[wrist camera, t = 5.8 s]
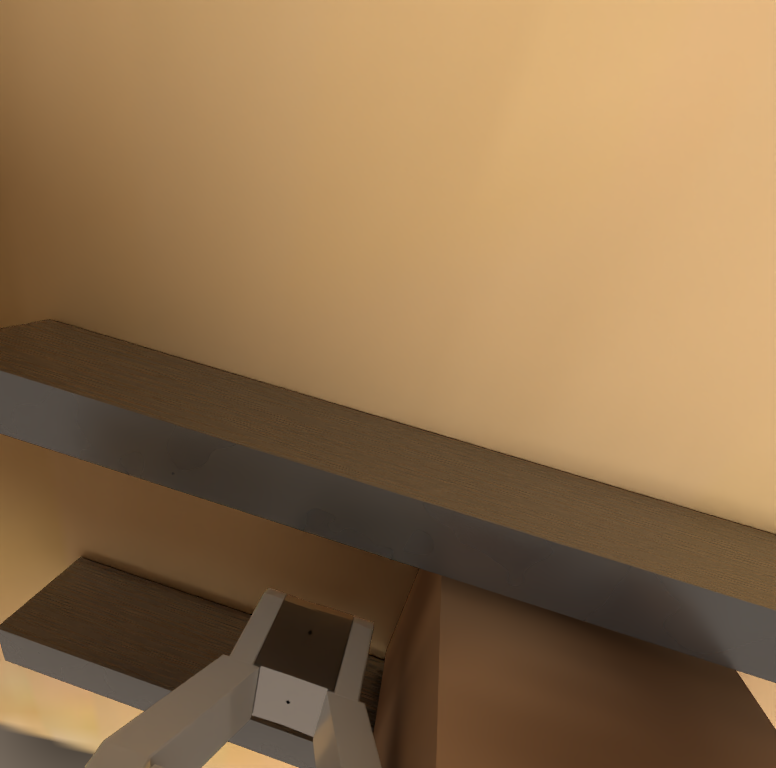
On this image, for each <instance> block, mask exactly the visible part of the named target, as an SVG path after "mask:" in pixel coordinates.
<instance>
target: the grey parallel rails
mask: <svg viewBox="0 0 776 768" xmlns="http://www.w3.org/2000/svg"><path fill="white" fill-rule="evenodd" d="M0 434H4V435H7V436H10V437H13V438H16V439H19V440H22V441H25V442H28V443H32V444H35V445H38V446H41V447H44V448H47V449H50V450H53V451H56V452H59V453H63V454H66V455H69V456H72V457H75V458H78V459H81V460H84V461H87V462H91V463H94V464H97V465H100V466H103V467H106V468H109V469H112V470H115V471H119V472H122V473H125V474H128V475H131V476H134V477H137V478H140V479H143V480H147V481H150V482H153V483H156V484H159V485H162V486H165V487H168V488H171V489H174V490H178V491H181V492H184V493H187V494H190V495H193V496H196V497H199V498H202V499H206V500H209V501H212V502H215V503H218V504H221V505H224V506H227V507H230V508H234V509H237V510H240V511H243V512H246V513H249V514H252V515H255V516H258V517H262V518H265V519H268V520H271V521H274V522H277V523H280V524H283V525H286V526H290V527H293V528H296V529H299V530H302V531H305V532H308V533H311V534H314V535H317V536H321V537H324V538H327V539H330V540H333V541H336V542H339V543H342V544H345V545H349V546H352V547H355V548H358V549H361V550H364V551H367V552H370V553H373V554H377V555H380V556H383V557H386V558H389V559H392V560H395V561H398V562H401V563H405V564H408V565H411V566H414V567H417V568H420V569H423V570H426V571H429V572H433V573H436V574H439V575H442V576H445V577H448V578H451V579H454V580H457V581H460V582H464V583H467V584H470V585H473V586H476V587H479V588H482V589H485V590H488V591H492V592H495V593H498V594H501V595H504V596H507V597H510V598H513V599H516V600H520V601H523V602H526V603H529V604H532V605H535V606H538V607H541V608H544V609H548V610H551V611H554V612H557V613H560V614H563V615H566V616H569V617H572V618H576V619H579V620H582V621H585V622H588V623H591V624H594V625H597V626H600V627H603V628H607V629H610V630H613V631H616V632H619V633H622V634H625V635H628V636H631V637H635V638H638V639H641V640H644V641H647V642H650V643H653V644H656V645H659V646H663V647H666V648H669V649H672V650H675V651H678V652H681V653H684V654H687V655H691V656H694V657H697V658H700V659H703V660H706V661H709V662H712V663H715V664H718V665H722V666H725V667H728V668H731V669H734V670H737V671H740V672H743V673H746V674H750V675H753V676H756V677H759V678H762V679H765V680H768V681H771V682H774V683H776V535H774V534H771V533H768V532H764V531H761V530H758V529H754V528H751V527H748V526H744V525H741V524H737V523H734V522H731V521H727V520H724V519H721V518H717V517H714V516H710V515H707V514H704V513H700V512H697V511H694V510H690V509H687V508H684V507H680V506H677V505H673V504H670V503H667V502H663V501H660V500H657V499H653V498H650V497H646V496H643V495H640V494H636V493H633V492H630V491H626V490H623V489H620V488H616V487H613V486H609V485H606V484H603V483H599V482H596V481H593V480H589V479H586V478H582V477H579V476H576V475H572V474H569V473H566V472H562V471H559V470H555V469H552V468H549V467H545V466H542V465H539V464H535V463H532V462H529V461H525V460H522V459H518V458H515V457H512V456H508V455H505V454H502V453H498V452H495V451H491V450H488V449H485V448H481V447H478V446H475V445H471V444H468V443H465V442H461V441H458V440H454V439H451V438H448V437H444V436H441V435H438V434H434V433H431V432H427V431H424V430H421V429H417V428H414V427H411V426H407V425H404V424H400V423H397V422H394V421H390V420H387V419H384V418H380V417H377V416H374V415H370V414H367V413H363V412H360V411H357V410H353V409H350V408H347V407H343V406H340V405H336V404H333V403H330V402H326V401H323V400H320V399H316V398H313V397H310V396H306V395H303V394H299V393H296V392H293V391H289V390H286V389H283V388H279V387H276V386H272V385H269V384H266V383H262V382H259V381H256V380H252V379H249V378H245V377H242V376H239V375H235V374H232V373H229V372H225V371H222V370H219V369H215V368H212V367H208V366H205V365H202V364H198V363H195V362H192V361H188V360H185V359H181V358H178V357H175V356H171V355H168V354H165V353H161V352H158V351H155V350H151V349H148V348H144V347H141V346H138V345H134V344H131V343H128V342H124V341H121V340H117V339H114V338H111V337H107V336H104V335H101V334H97V333H94V332H90V331H87V330H84V329H80V328H77V327H74V326H70V325H67V324H64V323H60V322H57V321H53V320H50V319H49V320H44V321H38V322H33V323H28V324H22V325H17V326H11V327H6V328H1V329H0ZM251 616H252V615H249V614H246V613H243V612H240V611H237V610H234V609H231V608H228V607H225V606H222V605H219V604H216V603H213V602H211V601H208V600H205V599H202V598H199V597H196V596H193V595H190V594H187V593H184V592H181V591H178V590H175V589H172V588H169V587H166V586H164V585H161V584H158V583H155V582H152V581H149V580H146V579H143V578H140V577H137V576H134V575H131V574H128V573H125V572H122V571H119V570H116V569H114V568H111V567H108V566H105V565H102V564H99V563H96V562H93V561H90V560H87V559H84V558H81V557H80V558H79V559H78V560H76V561H75V562H74V563H73V564H72V565H71V566H69V567H68V568H67V569H66V570H65V571H63V572H62V573H61V574H60V575H59V576H57V577H56V578H55V579H54V580H53V581H51V582H50V583H49V584H48V585H47V586H46V587H44V588H43V589H42V590H41V591H40V592H38V593H37V594H36V595H35V596H34V597H32V598H31V599H30V600H29V601H28V602H26V603H25V604H24V605H23V606H22V607H21V608H19V609H18V610H17V611H16V612H15V613H13V614H12V615H11V616H10V617H9V618H7V619H6V620H5V621H4V622H3V623H1V624H0V644H1V647H2V651H3V654H4V658H5V660H6V661H9V662H11V663H14V664H17V665H20V666H22V667H25V668H28V669H31V670H33V671H36V672H39V673H42V674H44V675H47V676H50V677H53V678H55V679H58V680H61V681H64V682H66V683H69V684H72V685H74V686H77V687H80V688H83V689H85V690H88V691H91V692H94V693H96V694H99V695H102V696H105V697H107V698H110V699H113V700H116V701H118V702H121V703H124V704H126V705H129V706H132V707H135V708H137V709H140V710H143V711H145V710H147V709H148V708H150V707H151V706H152V705H154V704H155V703H156V702H158V701H159V700H161V699H162V698H163V697H165V696H166V695H168V694H169V693H170V692H172V691H173V690H175V689H176V688H177V687H179V686H180V685H181V684H183V683H184V682H186V681H187V680H188V679H190V678H191V677H193V676H194V675H195V674H197V673H198V672H199V671H201V670H202V669H204V668H205V667H206V666H208V665H209V664H211V663H212V662H213V661H215V660H216V659H218V658H219V657H220V656H222V655H223V654H224V655H228V656H230V654H231V652H232V651H233V649H234V647H235V645H236V643H237V641H238V639H239V638H240V636H241V634H242V632H243V630H244V628H245V627H246V625H247V623H248V621H249V619H250V617H251ZM384 663H385V661H384V660H381V659H378V658H375V657H372V656H369V655H368V658H367V663H366V668H365V673H364V678H363V683H362V688H361V693H360V698H359V701H360V702H362V703H365V705H366V709H367V713H368V717H369V720H370V724H371V728H372V732H374V726H375V719H376V713H377V707H378V701H379V694H380V688H381V682H382V675H383V669H384ZM228 742H231V743H233V744H236V745H239V746H241V747H244V748H247V749H250V750H252V751H255V752H258V753H261V754H263V755H266V756H269V757H272V758H274V759H277V760H280V761H283V762H285V763H288V764H291V765H294V766H296V767H299V768H316V763H315V754H314V746H313V737H312V736H310V735H307V734H304V733H302V732H299V731H297V730H294V729H292V728H289V727H287V726H284V725H282V724H278V723H275V722H272V721H269V720H266V719H263V718H260V717H256V716H253V715H251V719H250V720H249V721H248V722H247V723H246V724H245V725H244V726H243V727H242V728H241V729H240V730H239V731H238V732H237V733H236V734H235V735H234V736H233V737H231V738H230V739H229V740H228Z"/></svg>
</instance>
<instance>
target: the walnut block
mask: <svg viewBox="0 0 776 768" xmlns="http://www.w3.org/2000/svg"><path fill="white" fill-rule="evenodd" d="M373 736H374V739H375V743H376V747H377V751H378V755H379V758H380V762H381V766H382V768H776V729H775V728H774V726H773V725H772V723H771V722H770V720H769V719H768V717H767V716H766V714H765V713H764V711H763V710H762V708H761V707H760V705H759V704H758V702H757V701H756V699H755V698H754V696H753V695H752V694H751V692H750V691H749V689H748V688H747V686H746V685H745V683H744V682H743V680H742V679H741V677H740V676H739V674H738V673H737V671H736V670H734V669H731V668H728V667H725V666H722V665H718V664H715V663H712V662H709V661H706V660H703V659H700V658H697V657H694V656H691V655H687V654H684V653H681V652H678V651H675V650H672V649H669V648H666V647H663V646H659V645H656V644H653V643H650V642H647V641H644V640H641V639H638V638H635V637H631V636H628V635H625V634H622V633H619V632H616V631H613V630H610V629H607V628H603V627H600V626H597V625H594V624H591V623H588V622H585V621H582V620H579V619H576V618H572V617H569V616H566V615H563V614H560V613H557V612H554V611H551V610H548V609H544V608H541V607H538V606H535V605H532V604H529V603H526V602H523V601H520V600H516V599H513V598H510V597H507V596H504V595H501V594H498V593H495V592H492V591H488V590H485V589H482V588H479V587H476V586H473V585H470V584H467V583H464V582H460V581H457V580H454V579H451V578H448V577H445V576H442V575H439V574H436V573H433V572H429V571H426V570H423V569H420V568H419V571H418V573H417V576H416V578H415V581H414V583H413V586H412V588H411V591H410V593H409V596H408V598H407V601H406V603H405V606H404V608H403V610H402V613H401V615H400V618H399V620H398V623H397V625H396V628H395V630H394V633H393V635H392V638H391V640H390V643H389V645H388V648H387V650H386V656H385V663H384V669H383V675H382V682H381V688H380V694H379V701H378V707H377V713H376V719H375V726H374V732H373Z"/></svg>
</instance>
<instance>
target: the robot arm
mask: <svg viewBox="0 0 776 768" xmlns="http://www.w3.org/2000/svg"><path fill="white" fill-rule="evenodd" d="M373 629H374V622H371V621H368V620H365V619H362V618H358V617H354V615H351V614H348V613H345V612H342V611H338V610H335V609H332V608H329V607H326V606H322V605H319V604H315V603H312V602H309V601H306V600H303V599H300V598H297V597H294V596H291V595H289V594H287V593H284V592H281V591H277V590H274V589H271V588H268V589H267V590H266V591H265V592H264V594H263V595H262V597H261V599H260V601H259V603H258V604H257V606H256V608H255V610H254V612H253V614H252V616H251V617H250V619H249V621H248V623H247V625H246V627H245V628H244V630H243V632H242V634H241V636H240V638H239V639H238V641H237V643H236V645H235V647H234V649H233V651H232V652H231V654H230V656H228V655H224V654H223V655H222V656H220V657H219V658H218V659H216V660H215V661H213V662H212V663H211V664H209V665H208V666H206V667H205V668H204V669H202V670H201V671H199V672H198V673H197V674H195V675H194V676H193V677H191V678H190V679H188V680H187V681H186V682H184V683H183V684H181V685H180V686H179V687H177V688H176V689H175V690H173V691H172V692H170V693H169V694H168V695H166V696H165V697H163V698H162V699H161V700H159V701H158V702H156V703H155V704H154V705H152V706H151V707H150V708H148V709H147V710H145V711H144V712H143V713H141V714H140V715H138V716H137V717H136V718H134V719H133V720H131V721H130V722H129V723H127V724H126V725H125V726H123V727H122V728H120V729H119V730H118V731H116V732H115V733H113V734H112V735H111V736H109V737H108V738H107V739H105V740H104V741H103V742H102V743H101V745H100V746H99V747H98V749H97V750H96V752H95V753H94V755H93V756H92V757H91V759H90V760H89V762H88V763H87V764H86V766H85V767H84V768H201V767H202V766H203V765H204V764H205V763H206V762H207V761H208V760H209V759H210V758H211V757H212V756H213V755H214V754H215V753H216V752H217V751H218V750H219V749H220V748H221V747H222V746H223V745H224V744H225V743H226V742H227V741H228V740H229V739H230V738H231V737H233V736H234V735H235V734H236V733H237V732H238V731H239V730H240V729H241V728H242V727H243V726H244V725H245V724H246V723H247V722H248V721H249V720H250V719H251V715H253V716H256V717H260V718H263V719H266V720H269V721H272V722H275V723H278V724H282V725H284V726H287V727H289V728H292V729H294V730H297V731H299V732H302V733H304V734H307V735H310V736H312V737H313V746H314V754H315V763H316V768H382V766H381V762H380V758H379V755H378V751H377V747H376V743H375V739H374V736H373V732H372V728H371V724H370V720H369V717H368V713H367V709H366V705H365V703H362V702H360V701H359V698H360V693H361V688H362V683H363V678H364V673H365V668H366V663H367V658H368V653H369V648H370V644H371V639H372V634H373Z"/></svg>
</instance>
